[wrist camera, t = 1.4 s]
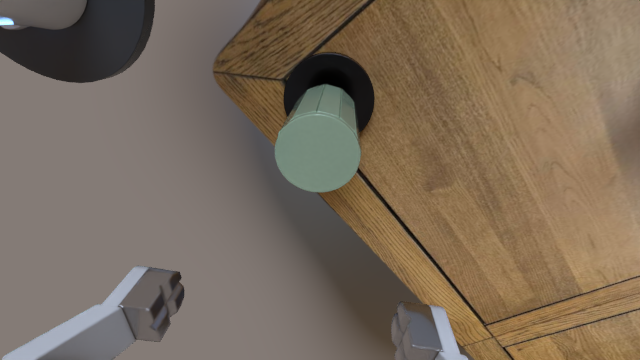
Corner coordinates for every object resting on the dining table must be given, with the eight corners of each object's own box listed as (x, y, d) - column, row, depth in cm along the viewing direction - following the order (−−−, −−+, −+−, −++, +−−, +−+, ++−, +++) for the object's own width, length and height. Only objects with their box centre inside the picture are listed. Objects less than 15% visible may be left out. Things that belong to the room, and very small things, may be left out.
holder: (268, 99, 35) (219, 151, 22) (328, 29, 31) (314, 38, 17) (329, 155, 39) (320, 231, 25) (391, 99, 34) (422, 154, 20)
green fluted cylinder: (282, 116, 29) (257, 155, 21) (324, 70, 26) (315, 94, 18) (325, 156, 31) (318, 206, 23) (369, 117, 28) (378, 157, 20)
